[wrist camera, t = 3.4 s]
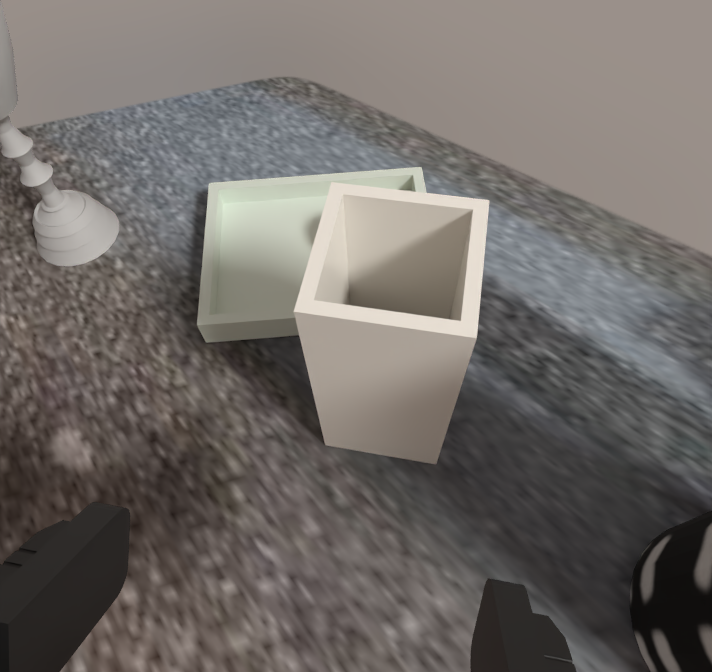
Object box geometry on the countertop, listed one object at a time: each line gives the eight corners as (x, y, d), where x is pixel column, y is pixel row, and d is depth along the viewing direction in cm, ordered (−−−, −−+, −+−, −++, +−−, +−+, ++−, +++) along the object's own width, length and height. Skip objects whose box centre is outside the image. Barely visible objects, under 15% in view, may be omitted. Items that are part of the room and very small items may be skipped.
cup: (325, 445, 27) (293, 311, 16) (346, 349, 29) (331, 182, 19) (436, 464, 26) (476, 338, 16) (447, 364, 29) (489, 200, 18)
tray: (206, 342, 30) (196, 325, 28) (216, 204, 35) (209, 183, 33) (444, 323, 30) (448, 305, 28) (419, 188, 35) (421, 166, 33)
